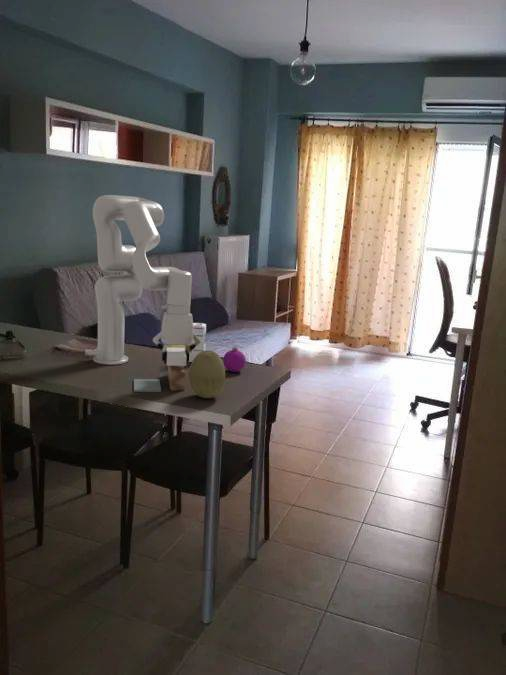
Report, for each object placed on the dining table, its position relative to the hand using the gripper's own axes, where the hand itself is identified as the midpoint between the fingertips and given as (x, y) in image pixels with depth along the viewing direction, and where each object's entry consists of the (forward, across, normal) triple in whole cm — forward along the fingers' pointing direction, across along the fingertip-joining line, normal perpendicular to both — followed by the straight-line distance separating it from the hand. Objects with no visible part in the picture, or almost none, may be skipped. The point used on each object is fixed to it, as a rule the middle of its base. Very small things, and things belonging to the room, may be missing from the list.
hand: (175, 362), depth 194 cm
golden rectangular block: (+2, +2, +8) cm, 8 cm away
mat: (+8, -9, -2) cm, 12 cm away
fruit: (+7, +9, -13) cm, 18 cm away
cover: (-1, 0, 0) cm, 1 cm away
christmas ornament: (+8, +23, +16) cm, 29 cm away
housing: (+8, +1, +2) cm, 8 cm away
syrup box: (+8, +11, +30) cm, 33 cm away
